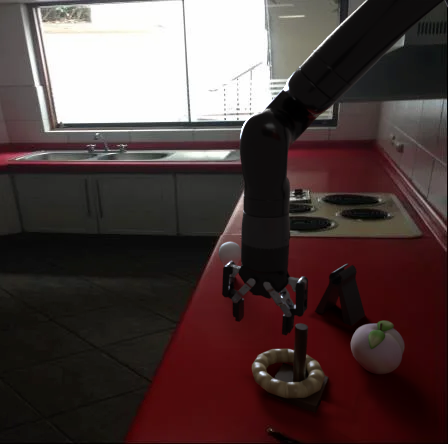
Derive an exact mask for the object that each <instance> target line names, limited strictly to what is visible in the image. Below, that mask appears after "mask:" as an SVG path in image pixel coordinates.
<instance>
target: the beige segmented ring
mask: <svg viewBox="0 0 448 444" xmlns="http://www.w3.org/2000/svg"><path fill="white" fill-rule="evenodd" d="M293 360H294V349H291V348H272V349H269V350H266V351H264V352H262V353H260V354H257V356H256V358H255V359H254V361H253V363H252V364H251V371H252V377H253V380H254V382H255V383H256V384H257V385H259V386H260V388H262V389H263V390H265V391H266V392H267V393H268V392H269V393H271V394H274V395H277V396H281V397H284V398H306V397H308V396H310V395H312V394H314V393H316V392H318V391H319V390H320V389H321V387H322V384H323V381H324V379H325V376H326V374H325V372H324V370H323V369H322V366H321V365H320V363H319V362H318V360H317V359H315V358H313V357H311V356H310V355H308V353H307V354H306V371H307V372H308V374H309V376H308V378H307V379H305V380H303V381H301V382H284V381H280V380H277V379H274V376H272V375H270V374H269V373H268V370H267V369H268V368H269V366H272V365H274V364H281V363H282V364H283V363H287V364H291V365H293Z"/></svg>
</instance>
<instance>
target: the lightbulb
mask: <svg viewBox="0 0 448 444" xmlns="http://www.w3.org/2000/svg"><path fill="white" fill-rule="evenodd" d="M218 258H219V261H221V263H222V266H223V268H224V267H225V266H226V265H227V264H228V263H229V262H231V261H232V262H234V263H235V265H237V266H238V264H239V262H241V246H240V245H239V244H238V243H236V242H234V241H226V242H224V243H222V244H221V245H220V247H219V248H218Z"/></svg>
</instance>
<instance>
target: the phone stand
mask: <svg viewBox="0 0 448 444" xmlns="http://www.w3.org/2000/svg"><path fill="white" fill-rule="evenodd" d="M347 266H348V267H347ZM356 278H357V268H356V267H355V266H354V264H351V265H350V266H349V263H346V264H344V265H342V266H341V267H339V268H337V269H336V270H334V271H332V272H331V273H329V275H328V285H327V286H326V289H325V290H324V293H323V294H322V296H321V299H320V301H319V302H318V304H317V306H316V308H315V310H314V312H315V313H317V314H320V315H323V314H325V313H326V312H327V311H329V310H330V309H332V308H333V307H335V306H336V305H337V302H338V299H339V304H340V309H341V315H342V320H343V324H345V325H348V326H351V327H353V326H354V325H356V324H357V323H358V322H359V321H360V320H362V319H363V318H364V317H365V316H366V313H365V309H364V305H363V302H362V299H361V298H362V297H361V294H360V291H359V287H358V283H357V279H356Z"/></svg>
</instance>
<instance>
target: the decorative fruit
mask: <svg viewBox="0 0 448 444" xmlns="http://www.w3.org/2000/svg"><path fill="white" fill-rule="evenodd" d="M394 327H395V325H394V324H393V322H391V321H389V320H380V321H378V322H377V323H366V324H363V325H361V326H359V327H358V328H356V330H355V332H354V333H353V334H352V337H351V341H350V350H351V353H352V356H353V357H354V359H355V360H356V362H357V363H358V364H359V365H360V366H361V367H362V368H363V369H364V370H365V371H367V372H369V373H371V374H375V375H387V374H390V373H392V372H394V371H395V370H396V369H397V368H399V366H400V364H401V363H402V360H403V354H404V351H405V341H404V338H403V337H402V335H401V334H400V332H399V331H397V329H396V328H394Z"/></svg>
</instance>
